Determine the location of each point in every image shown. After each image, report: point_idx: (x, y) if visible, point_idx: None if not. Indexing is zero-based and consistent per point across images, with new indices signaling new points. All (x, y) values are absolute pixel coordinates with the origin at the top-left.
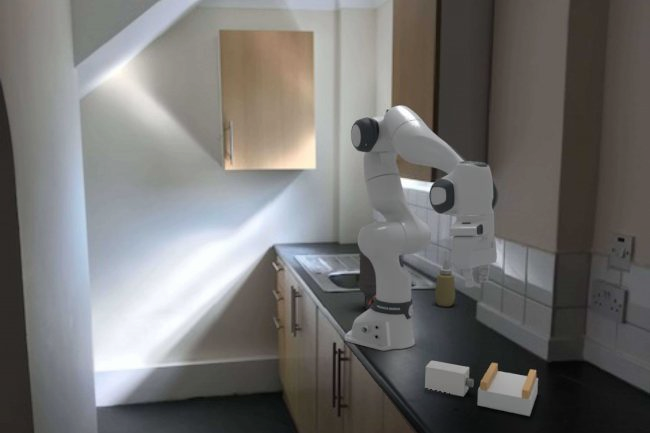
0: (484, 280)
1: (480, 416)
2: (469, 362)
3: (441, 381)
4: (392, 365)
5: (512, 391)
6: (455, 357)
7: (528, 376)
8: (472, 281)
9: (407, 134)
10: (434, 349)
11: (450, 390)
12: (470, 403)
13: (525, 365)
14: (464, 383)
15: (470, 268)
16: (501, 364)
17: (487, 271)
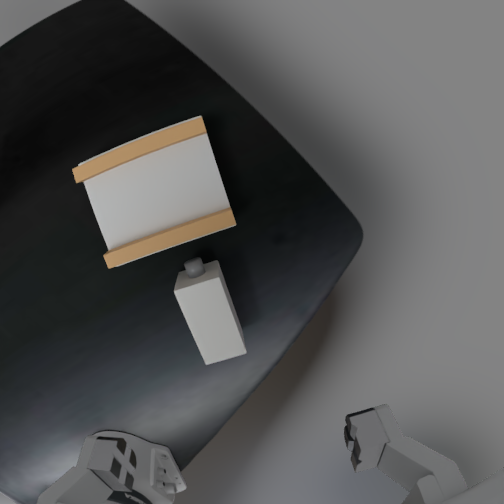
0: (122, 452)
1: (273, 189)
2: (72, 336)
3: (233, 310)
4: (201, 413)
5: (188, 164)
6: (77, 364)
7: (118, 161)
8: (394, 429)
9: None
10: (84, 403)
11: (226, 287)
12: (235, 232)
13: (3, 254)
14: (214, 269)
15: (467, 486)
16: (31, 289)
17: (74, 489)
